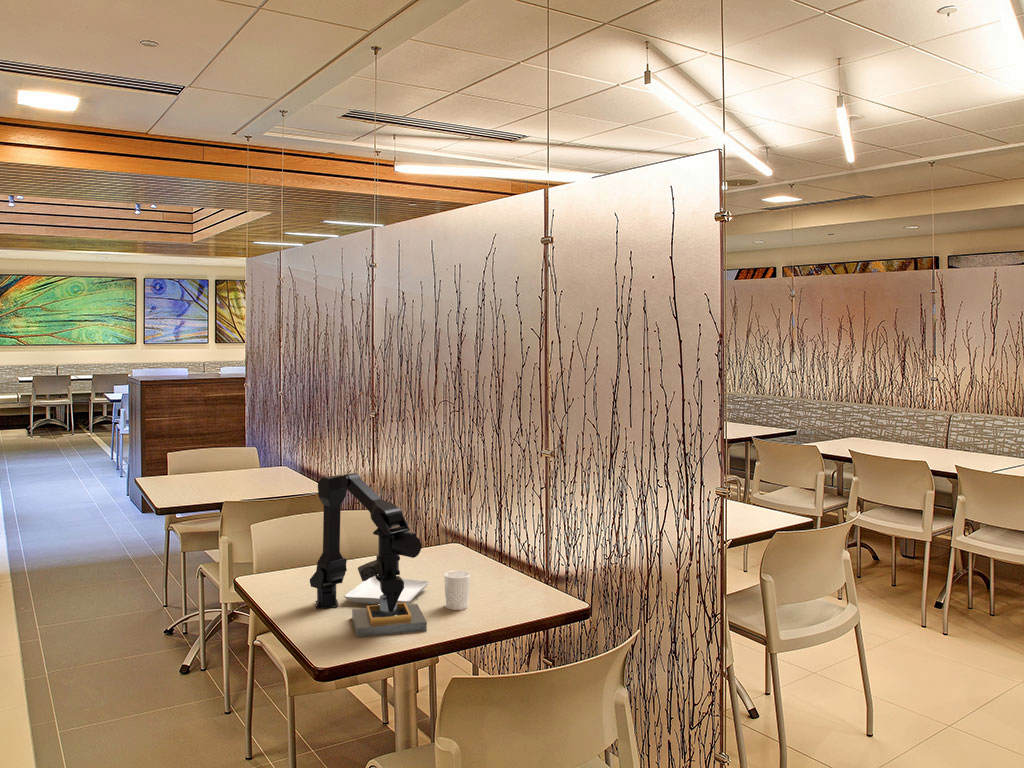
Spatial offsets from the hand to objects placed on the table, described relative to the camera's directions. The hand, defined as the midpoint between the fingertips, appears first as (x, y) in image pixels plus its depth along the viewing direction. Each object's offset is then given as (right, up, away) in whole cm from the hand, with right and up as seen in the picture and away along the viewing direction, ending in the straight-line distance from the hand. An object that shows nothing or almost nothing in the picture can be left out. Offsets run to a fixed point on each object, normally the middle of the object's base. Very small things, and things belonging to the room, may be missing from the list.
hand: (388, 606), depth 219 cm
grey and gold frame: (0, -5, 0) cm, 5 cm away
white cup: (+18, -5, +16) cm, 25 cm away
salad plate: (-4, -5, +25) cm, 26 cm away
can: (0, -5, 0) cm, 5 cm away
